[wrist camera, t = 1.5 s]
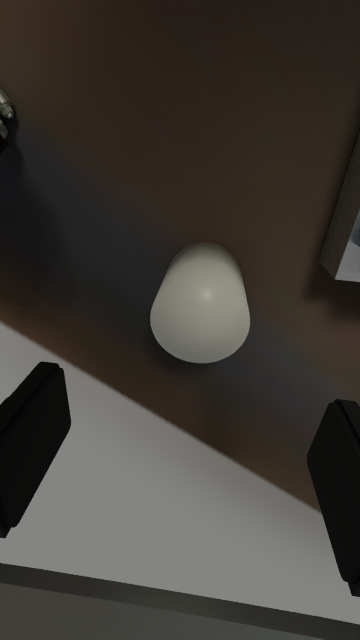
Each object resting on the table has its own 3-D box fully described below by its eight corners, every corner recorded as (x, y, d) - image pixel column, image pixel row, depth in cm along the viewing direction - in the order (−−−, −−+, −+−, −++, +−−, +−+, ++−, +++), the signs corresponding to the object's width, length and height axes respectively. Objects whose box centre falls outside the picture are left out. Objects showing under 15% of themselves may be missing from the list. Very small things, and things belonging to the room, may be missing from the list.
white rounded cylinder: (169, 238, 19) (151, 271, 14) (247, 246, 19) (259, 282, 14) (164, 326, 22) (148, 379, 17) (231, 334, 22) (235, 390, 17)
